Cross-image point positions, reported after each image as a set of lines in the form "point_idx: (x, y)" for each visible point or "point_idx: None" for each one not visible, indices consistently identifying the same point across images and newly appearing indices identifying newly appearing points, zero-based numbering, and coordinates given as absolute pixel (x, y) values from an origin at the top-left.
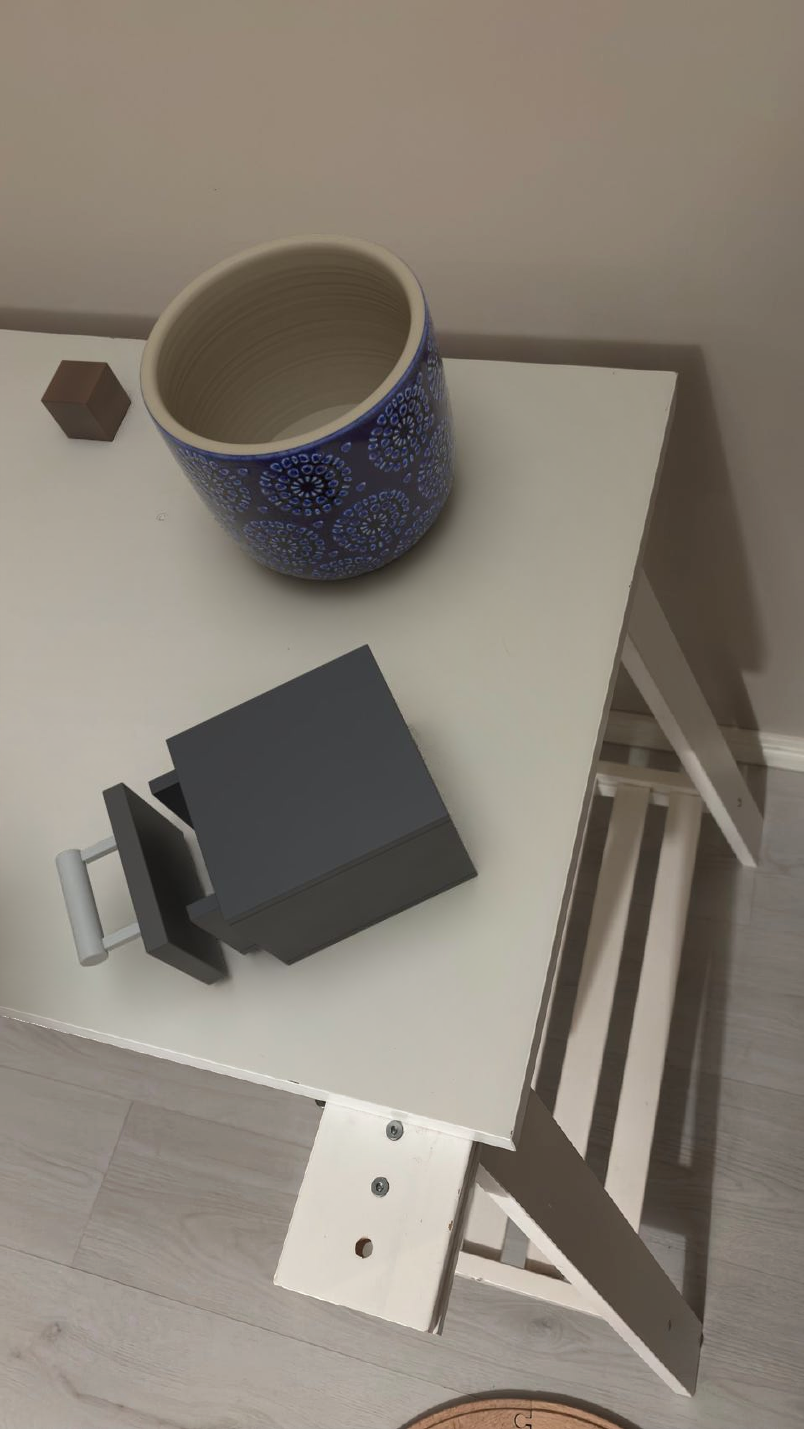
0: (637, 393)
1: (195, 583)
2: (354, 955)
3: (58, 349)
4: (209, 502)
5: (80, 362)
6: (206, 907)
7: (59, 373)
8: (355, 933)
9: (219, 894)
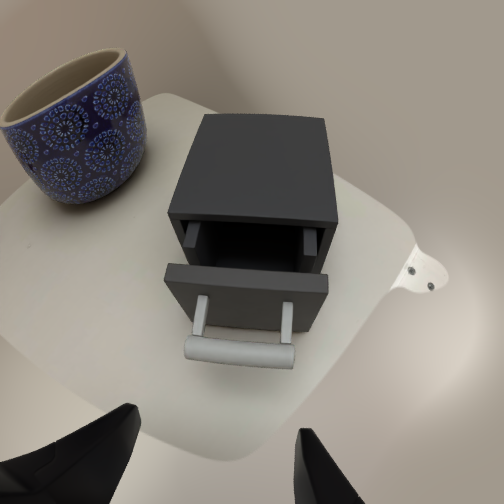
0: (159, 95)
1: (65, 244)
2: None
3: None
4: (61, 157)
5: None
6: (312, 242)
7: None
8: None
9: (316, 217)
